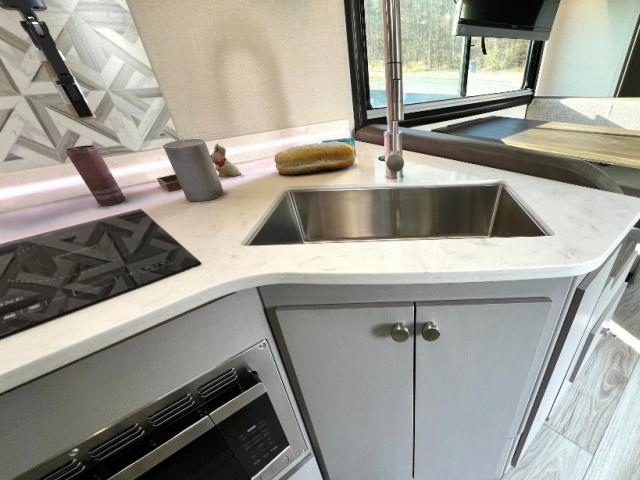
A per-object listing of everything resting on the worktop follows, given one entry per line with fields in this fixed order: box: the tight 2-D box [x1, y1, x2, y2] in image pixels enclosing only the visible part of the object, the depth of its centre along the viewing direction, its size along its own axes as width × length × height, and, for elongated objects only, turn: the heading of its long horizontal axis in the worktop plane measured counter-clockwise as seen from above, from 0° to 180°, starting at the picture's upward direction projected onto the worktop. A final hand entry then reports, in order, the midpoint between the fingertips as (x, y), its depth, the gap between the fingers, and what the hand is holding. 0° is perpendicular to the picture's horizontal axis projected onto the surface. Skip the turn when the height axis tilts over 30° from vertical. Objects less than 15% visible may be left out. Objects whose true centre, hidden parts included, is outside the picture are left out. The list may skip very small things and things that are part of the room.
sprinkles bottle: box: [34, 49, 97, 121], centre depth 74 cm, size 5×5×13 cm
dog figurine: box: [210, 142, 243, 178], centre depth 102 cm, size 6×8×10 cm
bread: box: [274, 142, 356, 176], centre depth 105 cm, size 13×26×8 cm, turn 111°
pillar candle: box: [161, 137, 225, 202], centre depth 84 cm, size 10×10×15 cm
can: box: [66, 144, 126, 207], centre depth 82 cm, size 6×6×14 cm
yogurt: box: [321, 136, 357, 156], centre depth 118 cm, size 12×2×6 cm, turn 112°
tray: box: [156, 173, 182, 193], centre depth 97 cm, size 11×9×2 cm
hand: (85, 115), depth 78 cm, fingers closed on sprinkles bottle, 4 cm apart
